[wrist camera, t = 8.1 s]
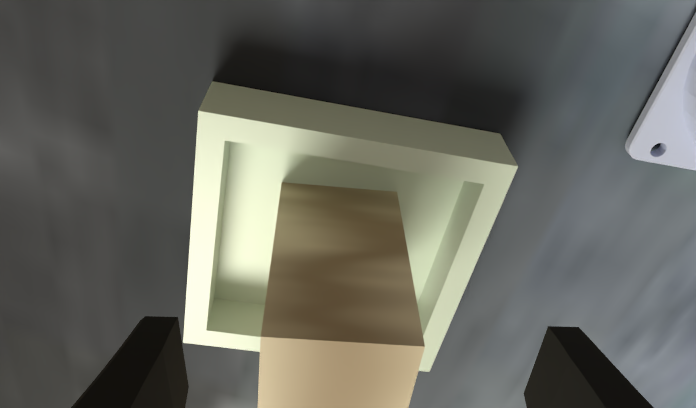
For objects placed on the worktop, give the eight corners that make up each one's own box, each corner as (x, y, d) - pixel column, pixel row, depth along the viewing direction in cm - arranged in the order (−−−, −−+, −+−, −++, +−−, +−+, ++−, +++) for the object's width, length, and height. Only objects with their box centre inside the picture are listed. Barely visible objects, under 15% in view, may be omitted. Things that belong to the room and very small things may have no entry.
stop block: (397, 191, 20) (425, 346, 14) (380, 278, 22) (398, 442, 16) (281, 182, 19) (260, 336, 13) (276, 271, 21) (256, 436, 16)
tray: (500, 133, 19) (517, 166, 17) (421, 330, 24) (429, 372, 22) (211, 81, 18) (198, 111, 16) (195, 301, 23) (183, 342, 21)
